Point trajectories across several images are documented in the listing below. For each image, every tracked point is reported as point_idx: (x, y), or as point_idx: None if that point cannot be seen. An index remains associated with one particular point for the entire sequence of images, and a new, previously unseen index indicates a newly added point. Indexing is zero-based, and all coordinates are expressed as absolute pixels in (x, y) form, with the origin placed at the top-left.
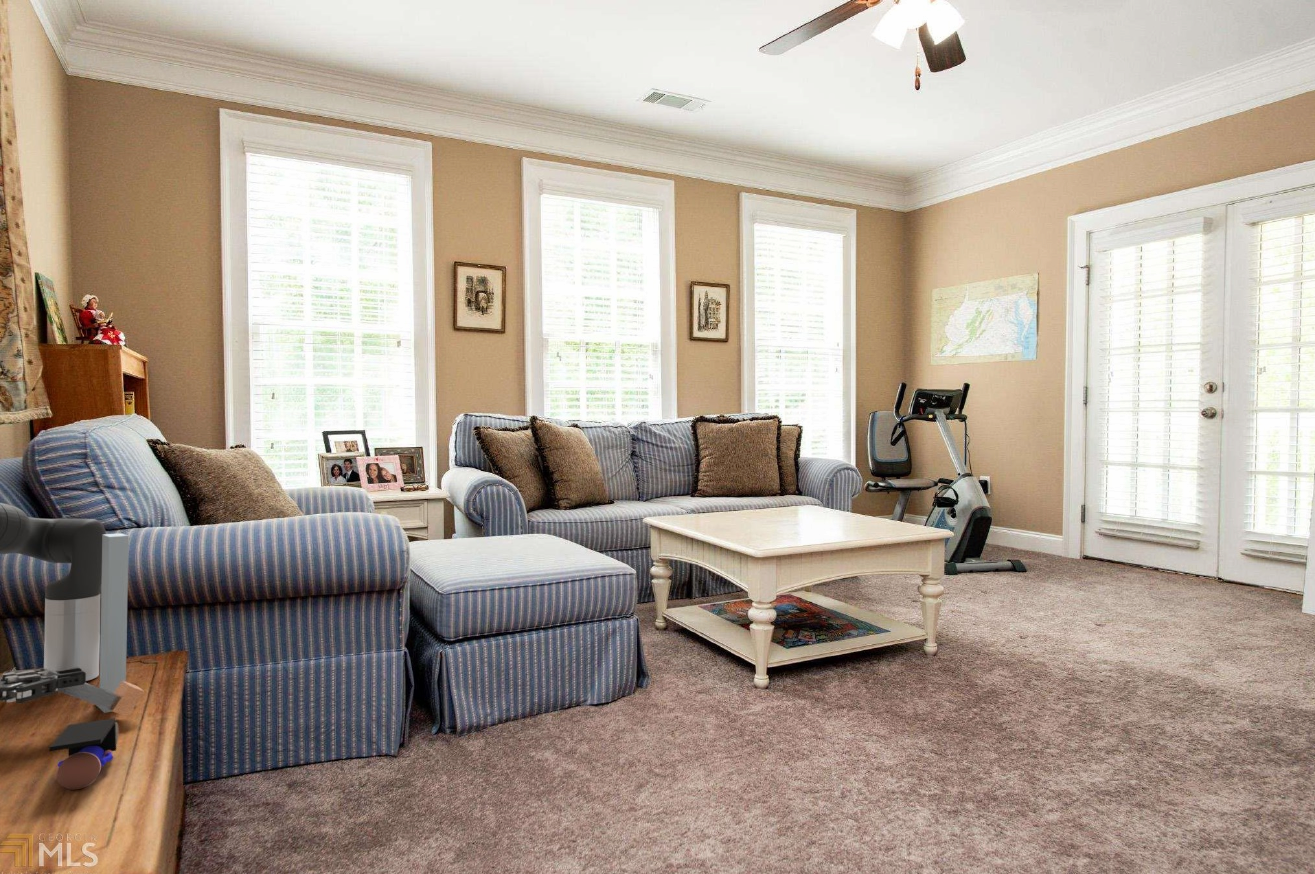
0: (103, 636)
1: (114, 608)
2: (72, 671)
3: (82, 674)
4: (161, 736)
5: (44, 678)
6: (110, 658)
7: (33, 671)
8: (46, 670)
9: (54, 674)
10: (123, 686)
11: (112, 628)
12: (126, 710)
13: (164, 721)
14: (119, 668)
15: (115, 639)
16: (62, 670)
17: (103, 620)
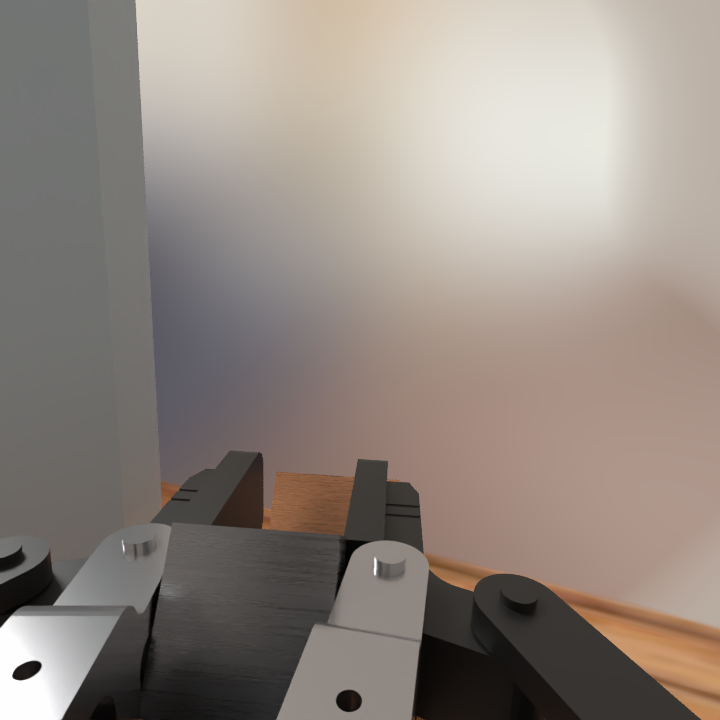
0: (22, 285)
1: (111, 115)
2: (249, 486)
3: (387, 481)
4: (644, 617)
5: (420, 635)
6: (124, 390)
7: (104, 621)
8: (233, 543)
9: (375, 549)
10: (333, 493)
11: (114, 231)
12: None
13: (458, 566)
14: (145, 431)
15: (127, 293)
16: (221, 499)
17: (7, 191)
